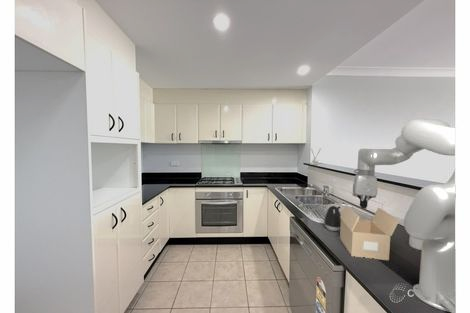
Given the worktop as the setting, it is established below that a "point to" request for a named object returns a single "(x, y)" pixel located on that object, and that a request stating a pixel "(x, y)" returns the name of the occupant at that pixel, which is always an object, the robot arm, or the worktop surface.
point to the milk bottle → (415, 243)
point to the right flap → (385, 221)
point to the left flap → (349, 218)
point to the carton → (366, 240)
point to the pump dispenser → (333, 219)
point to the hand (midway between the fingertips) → (363, 207)
